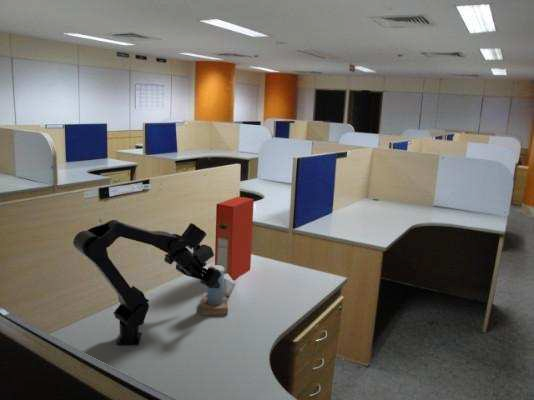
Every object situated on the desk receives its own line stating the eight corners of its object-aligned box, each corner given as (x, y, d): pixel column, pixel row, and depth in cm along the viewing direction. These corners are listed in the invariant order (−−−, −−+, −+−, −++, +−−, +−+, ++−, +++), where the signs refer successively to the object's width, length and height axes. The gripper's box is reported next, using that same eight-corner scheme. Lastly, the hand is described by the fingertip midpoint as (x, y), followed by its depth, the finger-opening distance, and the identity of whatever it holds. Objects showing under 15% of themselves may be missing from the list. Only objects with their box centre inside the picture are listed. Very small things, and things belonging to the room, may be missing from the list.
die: (229, 290, 176) (215, 270, 174) (243, 287, 169) (228, 266, 168) (216, 304, 170) (201, 284, 168) (230, 301, 164) (214, 280, 162)
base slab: (227, 314, 155) (227, 308, 154) (201, 314, 154) (201, 308, 153) (226, 303, 164) (227, 296, 163) (202, 303, 163) (202, 296, 162)
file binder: (213, 278, 185) (216, 203, 178) (234, 265, 200) (237, 196, 193) (230, 282, 181) (234, 206, 174) (250, 269, 197) (254, 199, 189)
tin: (225, 304, 157) (227, 270, 154) (210, 307, 154) (211, 272, 151) (218, 297, 162) (220, 264, 159) (204, 300, 159) (205, 266, 156)
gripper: (218, 247, 141) (241, 272, 151) (184, 232, 154) (208, 256, 164) (196, 276, 137) (222, 299, 148) (163, 258, 150) (189, 281, 160)
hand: (210, 283), depth 155 cm, fingers open, 9 cm apart
